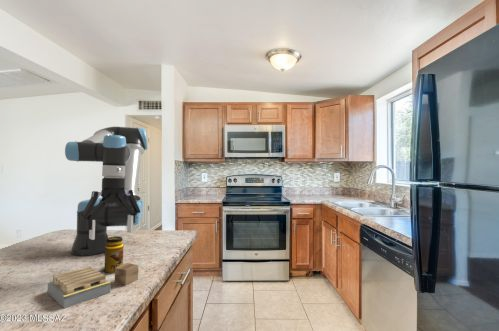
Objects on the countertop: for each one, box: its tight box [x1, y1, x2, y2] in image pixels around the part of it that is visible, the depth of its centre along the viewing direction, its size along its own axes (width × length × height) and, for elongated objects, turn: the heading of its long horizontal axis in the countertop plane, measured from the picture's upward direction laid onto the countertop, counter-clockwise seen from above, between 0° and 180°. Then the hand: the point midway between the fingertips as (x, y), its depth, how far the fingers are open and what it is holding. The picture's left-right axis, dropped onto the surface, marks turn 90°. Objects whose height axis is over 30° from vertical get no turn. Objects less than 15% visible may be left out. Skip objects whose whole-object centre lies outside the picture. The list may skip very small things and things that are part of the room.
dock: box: [46, 279, 112, 309], centre depth 79 cm, size 14×12×3 cm
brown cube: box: [114, 262, 139, 286], centre depth 88 cm, size 5×5×5 cm
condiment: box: [97, 235, 124, 275], centre depth 96 cm, size 7×8×12 cm
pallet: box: [52, 266, 107, 294], centre depth 79 cm, size 12×10×2 cm
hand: (112, 235), depth 96 cm, fingers open, 13 cm apart
